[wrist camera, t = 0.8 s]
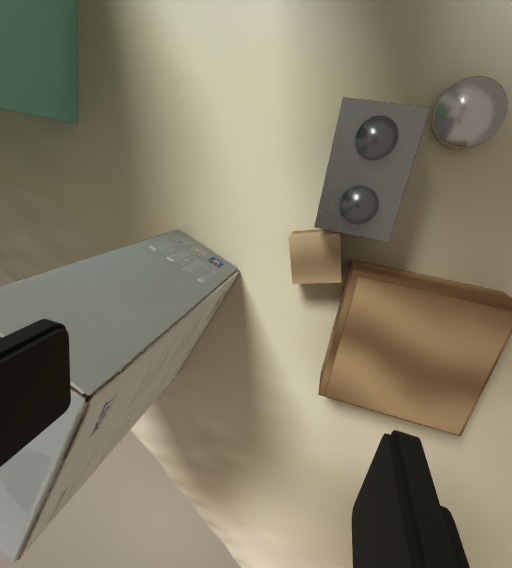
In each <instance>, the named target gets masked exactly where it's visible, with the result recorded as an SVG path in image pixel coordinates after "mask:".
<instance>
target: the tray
mask: <svg viewBox="0 0 512 568" xmlns="http://www.w3.org/2000/svg"><path fill="white" fill-rule="evenodd" d="M511 333H512V298H511V297H509V296H508V295H506V294H505V293H503V292H501V291H497V290H492V289H487V288H483V287H478V286H473V285H469V284H464V283H459V282H455V281H450V280H445V279H440V278H436V277H431V276H426V275H422V274H417V273H412V272H408V271H403V270H398V269H393V268H389V267H384V266H379V265H375V264H370V263H365V262H361V261H356V260H352V261H351V264H350V268H349V272H348V275H347V279H346V283H345V286H344V290H343V294H342V297H341V301H340V305H339V308H338V312H337V316H336V319H335V323H334V327H333V331H332V334H331V338H330V342H329V345H328V349H327V353H326V356H325V360H324V364H323V367H322V371H321V376H320V385H319V394H318V395H321V396H325V397H328V398H332V399H335V400H338V401H342V402H345V403H349V404H352V405H356V406H359V407H362V408H366V409H369V410H373V411H376V412H379V413H383V414H386V415H390V416H393V417H396V418H400V419H403V420H407V421H410V422H413V423H417V424H420V425H424V426H427V427H430V428H434V429H437V430H441V431H444V432H448V433H451V434H454V435H458V436H461V435H462V433H463V431H464V429H465V427H466V425H467V422H468V420H469V418H470V416H471V414H472V412H473V410H474V408H475V406H476V404H477V402H478V400H479V398H480V396H481V394H482V392H483V390H484V388H485V386H486V384H487V382H488V380H489V378H490V376H491V374H492V372H493V370H494V368H495V366H496V364H497V362H498V360H499V358H500V356H501V354H502V351H503V349H504V347H505V345H506V343H507V341H508V339H509V337H510V335H511Z"/></svg>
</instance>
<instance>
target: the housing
mask: <svg viewBox="0 0 512 568" xmlns="http://www.w3.org/2000/svg"><path fill="white" fill-rule="evenodd" d="M429 109H430V108H427V107H419V106H411V105H402V104H394V103H386V102H378V101H370V100H362V99H354V98H346V97H343V100H342V104H341V109H340V113H339V118H338V122H337V127H336V131H335V136H334V140H333V145H332V149H331V154H330V158H329V163H328V168H327V172H326V177H325V181H324V186H323V190H322V195H321V199H320V204H319V208H318V213H317V217H316V222H315V226H314V227H316V228H321V229H326V230H331V231H336V232H341V233H346V234H351V235H356V236H361V237H366V238H371V239H376V240H381V241H386V242H389V239H390V236H391V233H392V230H393V226H394V223H395V220H396V217H397V213H398V210H399V207H400V204H401V200H402V197H403V194H404V191H405V187H406V184H407V181H408V178H409V174H410V171H411V168H412V165H413V161H414V158H415V155H416V152H417V148H418V145H419V142H420V139H421V135H422V132H423V129H424V126H425V122H426V119H427V116H428V113H429Z"/></svg>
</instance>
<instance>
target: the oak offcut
mask: <svg viewBox="0 0 512 568" xmlns="http://www.w3.org/2000/svg"><path fill="white" fill-rule="evenodd" d="M289 244H290V257H291V271H292V284H308V283H342V270H341V236H340V232H336V231H331V230H326V229H321V230H306V231H294V232H293V233H292V234H291V235H290V236H289Z"/></svg>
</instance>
